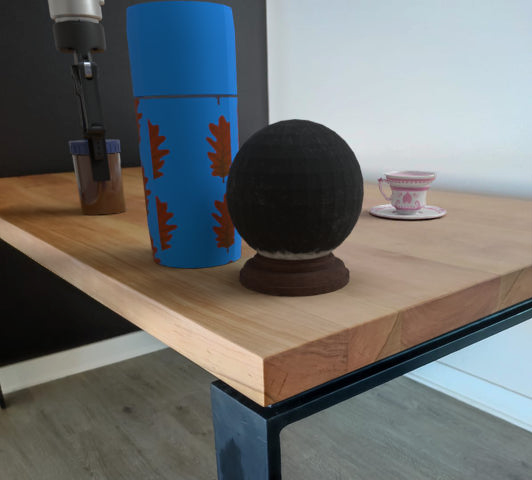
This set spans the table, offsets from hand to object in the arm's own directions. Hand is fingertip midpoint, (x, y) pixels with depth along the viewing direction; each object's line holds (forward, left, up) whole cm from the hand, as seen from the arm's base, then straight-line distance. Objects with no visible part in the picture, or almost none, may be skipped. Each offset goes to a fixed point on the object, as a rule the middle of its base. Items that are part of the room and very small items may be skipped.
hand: (99, 177), depth 92 cm
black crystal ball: (+31, -43, -6) cm, 53 cm away
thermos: (+20, -33, -6) cm, 39 cm away
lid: (0, 0, +5) cm, 5 cm away
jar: (0, 0, -6) cm, 6 cm away
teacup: (+51, -8, -6) cm, 52 cm away
